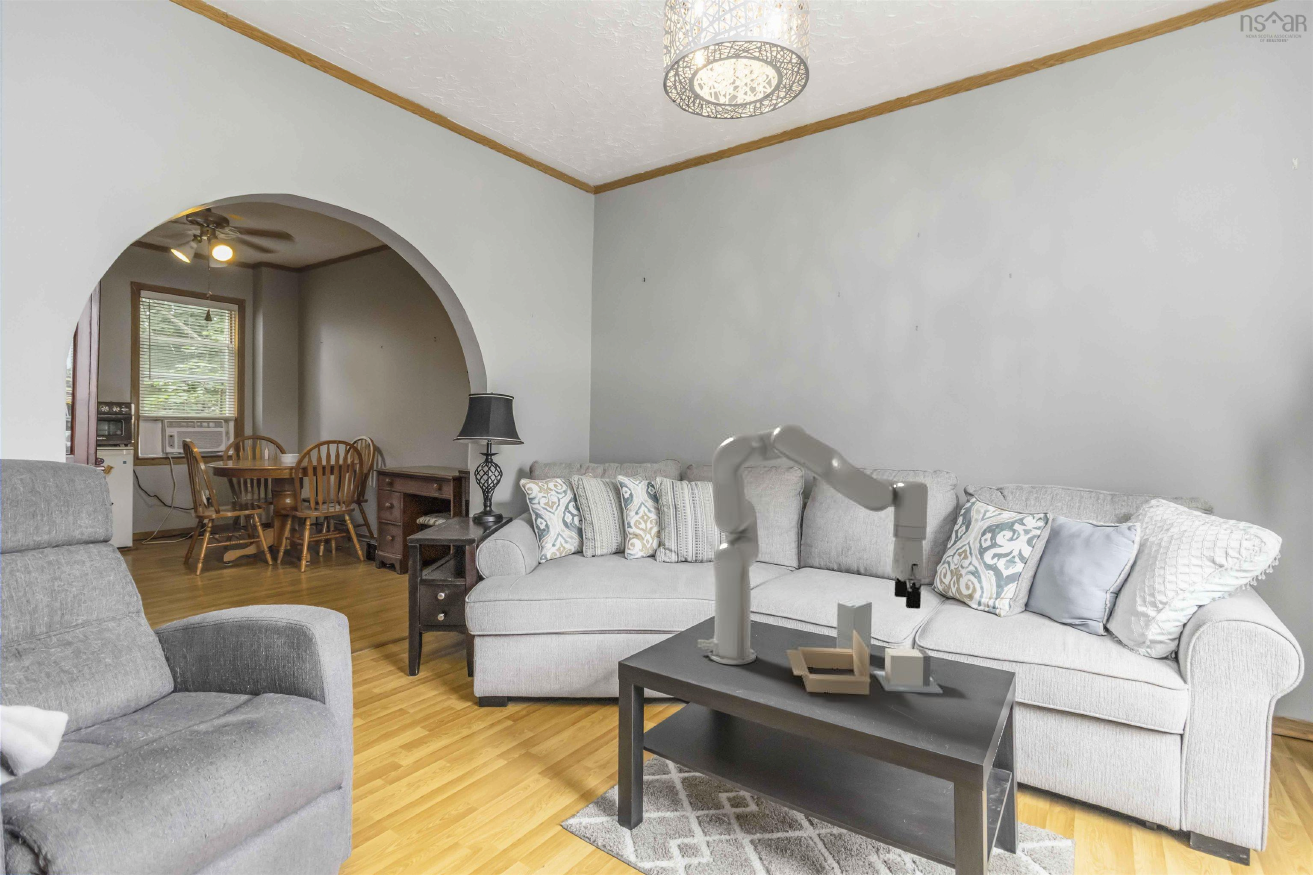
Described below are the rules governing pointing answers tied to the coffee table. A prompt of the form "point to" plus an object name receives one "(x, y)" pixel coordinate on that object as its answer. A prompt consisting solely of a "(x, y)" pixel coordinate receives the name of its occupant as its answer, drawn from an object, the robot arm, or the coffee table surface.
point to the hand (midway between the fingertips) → (906, 602)
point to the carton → (833, 659)
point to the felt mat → (907, 688)
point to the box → (907, 666)
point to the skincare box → (853, 622)
